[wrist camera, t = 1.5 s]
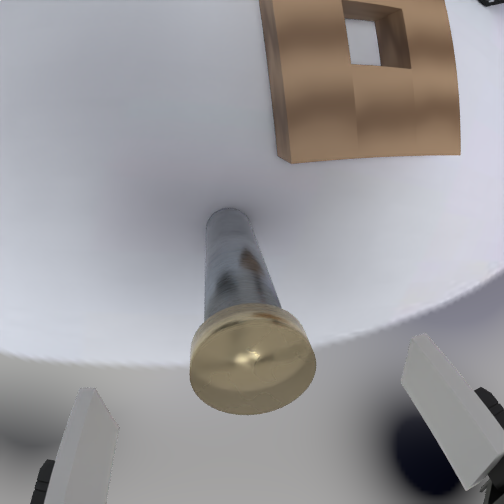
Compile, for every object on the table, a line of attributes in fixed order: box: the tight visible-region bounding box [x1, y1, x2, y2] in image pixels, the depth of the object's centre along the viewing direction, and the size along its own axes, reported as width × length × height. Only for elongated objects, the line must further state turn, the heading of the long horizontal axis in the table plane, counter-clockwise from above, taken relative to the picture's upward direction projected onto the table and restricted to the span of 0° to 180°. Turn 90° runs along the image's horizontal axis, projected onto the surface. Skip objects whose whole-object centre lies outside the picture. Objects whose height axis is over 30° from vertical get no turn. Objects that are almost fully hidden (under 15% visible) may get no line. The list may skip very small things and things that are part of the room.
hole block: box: [259, 0, 461, 164], centre depth 21 cm, size 20×16×5 cm
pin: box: [190, 208, 316, 415], centre depth 21 cm, size 5×5×18 cm
